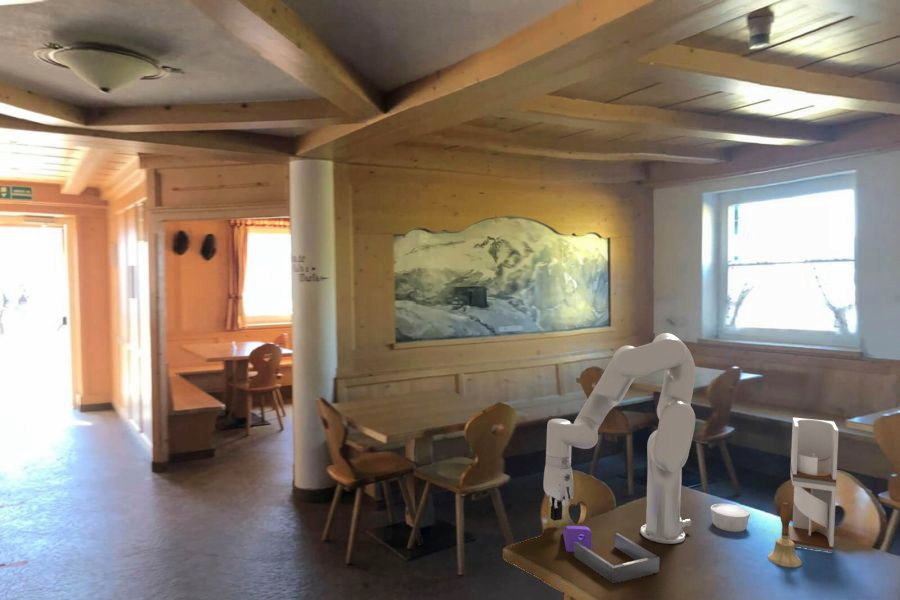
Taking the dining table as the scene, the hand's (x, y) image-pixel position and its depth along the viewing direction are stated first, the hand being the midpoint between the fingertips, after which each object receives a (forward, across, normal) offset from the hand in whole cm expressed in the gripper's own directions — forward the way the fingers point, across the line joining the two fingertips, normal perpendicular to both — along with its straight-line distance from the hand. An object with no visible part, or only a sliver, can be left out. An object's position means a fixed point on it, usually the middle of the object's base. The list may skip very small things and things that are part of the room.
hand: (556, 519), depth 197 cm
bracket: (+3, -12, +1) cm, 13 cm away
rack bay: (+2, -27, 0) cm, 27 cm away
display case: (+1, -39, -61) cm, 73 cm away
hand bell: (+1, -44, -44) cm, 63 cm away
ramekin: (+2, -21, -49) cm, 54 cm away
